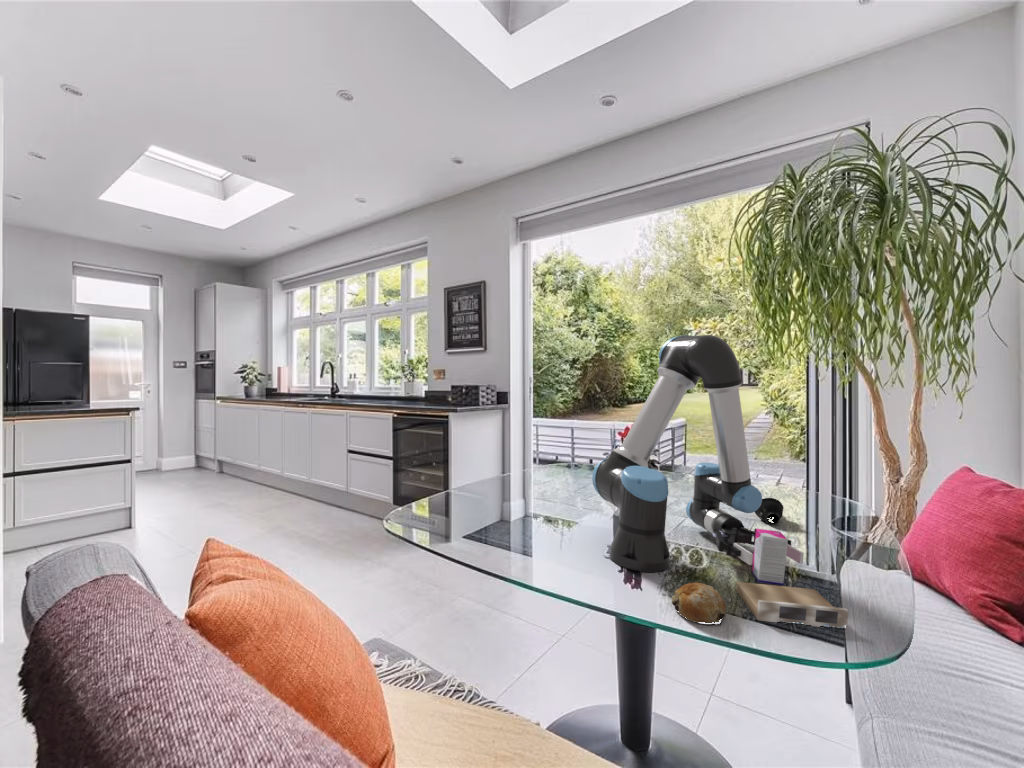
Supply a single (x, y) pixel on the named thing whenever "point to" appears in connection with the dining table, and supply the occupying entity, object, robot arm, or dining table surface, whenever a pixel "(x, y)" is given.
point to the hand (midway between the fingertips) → (776, 559)
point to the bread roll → (699, 603)
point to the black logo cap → (770, 510)
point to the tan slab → (790, 605)
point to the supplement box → (769, 556)
